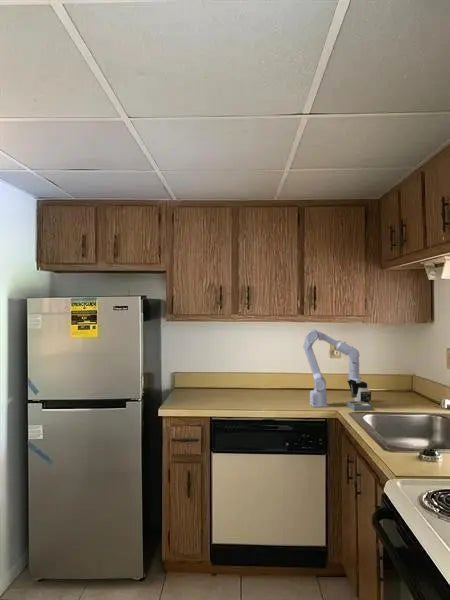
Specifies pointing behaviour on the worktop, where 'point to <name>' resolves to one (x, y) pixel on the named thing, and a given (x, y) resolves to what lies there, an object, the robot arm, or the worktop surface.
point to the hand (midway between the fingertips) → (354, 393)
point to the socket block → (358, 405)
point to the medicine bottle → (363, 393)
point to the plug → (352, 393)
